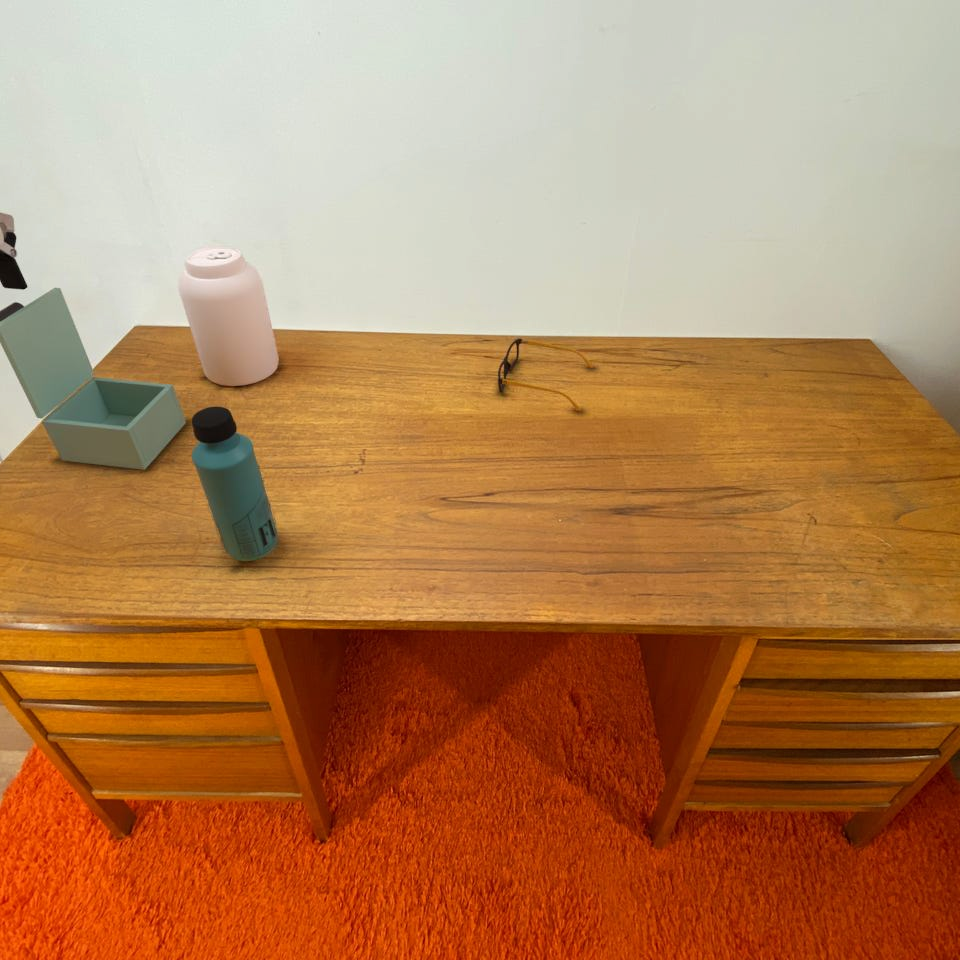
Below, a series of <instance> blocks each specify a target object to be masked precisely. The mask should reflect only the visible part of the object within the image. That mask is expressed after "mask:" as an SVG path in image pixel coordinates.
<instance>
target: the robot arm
mask: <svg viewBox="0 0 960 960" xmlns="http://www.w3.org/2000/svg"><path fill="white" fill-rule="evenodd" d="M15 231H16V230H15V219H14V217H13V215H11V214H8V213H5V212H0V284H1V286H2V288H4V289H8V290H9V289H11V290H22V291H24V290H26V289H27V288H28V287H29V286H28V284H27V281H26V280H25V277H24V275H23V273H22V271H21V268H20V266H19V264H18V262H17V260H16V258H17V256H18V251H17V249H16V244H17V235H16V233H15Z"/></svg>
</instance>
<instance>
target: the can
mask: <svg viewBox="0 0 960 960" xmlns="http://www.w3.org/2000/svg"><path fill="white" fill-rule="evenodd" d="M184 266H185V269H184V270H183V272H182V273H181V274H180V276H179V278H178V293H179V296H180V298H181V302H182V304H183V309H184V312H185V315H186V319H187V322H188V324H189V329H190V332H191V335H192V338H193V342H194V345H195V348H196V352H197V355H198V357H199V361H200V365H201V367H202V371H203V374H204V376H205V377H206V378H207V379H208V380H209V381H210V382H212V383H214V384H217V385H220V386H228V387H236V386H237V387H238V386H240V387H241V386H247V385H251V384H255V383H257V382H261V381H263V380H266V379H267V378H269V377H270V376H271V375H273V374H274V373H275V371H276V370H277V369H278V366H279V360H280V358H279V353H278V349H277V344H276V343H277V342H276V339H275V335H274V334H275V333H274V329H273V326H272V320H271V315H270V311H269V307H268V301H267V297H266V292H265V287H264V283H263V279H262V278H261V276H260V274H259V272H258V269H257V268H256V267H255V266H254V265H252V264H250V263H249V262H247V261H246V259H245V257H244V255H243V253H242V252H241V251H240V249H237V248H235V247H231V246H221V245H219V246H216V245H215V246H208V247H203V248H199V249H196V250H194V251H192V252H190V253H188V254H187V255H186V257H185V259H184Z"/></svg>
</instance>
